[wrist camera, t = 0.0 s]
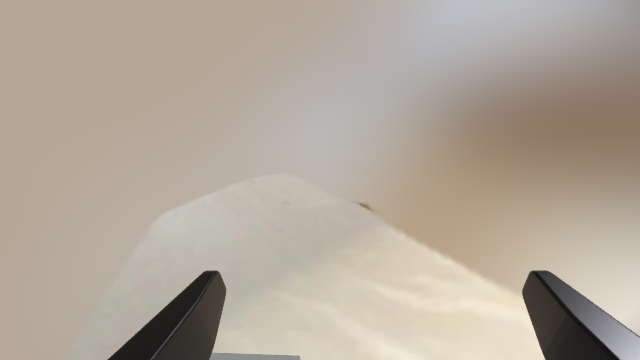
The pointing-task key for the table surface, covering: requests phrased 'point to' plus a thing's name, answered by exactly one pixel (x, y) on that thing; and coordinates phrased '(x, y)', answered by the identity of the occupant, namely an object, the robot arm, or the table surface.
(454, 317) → the table surface
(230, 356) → the mat
